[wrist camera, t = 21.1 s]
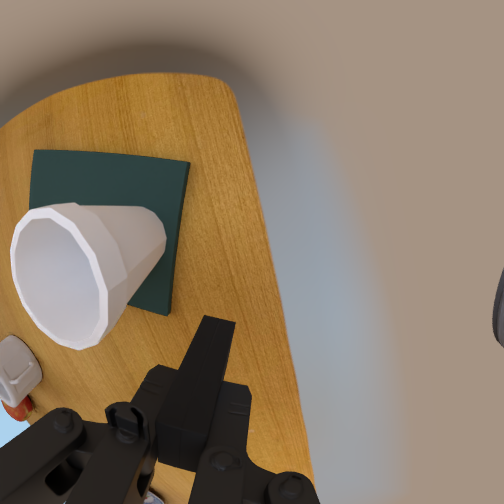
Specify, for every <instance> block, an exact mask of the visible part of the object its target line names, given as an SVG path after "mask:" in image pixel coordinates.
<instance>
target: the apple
mask: <svg viewBox="0 0 504 504" xmlns="http://www.w3.org/2000/svg"><path fill="white" fill-rule="evenodd" d="M1 401H2V400H1ZM2 404H3V406H4V408H5V410H6V412H7V413H8V414H9V415H10V416H11V417H12V418H14V419H15V420H17V421H25V420H27V419H28V418H29V417H30V416H31V413H32V410H33V408H32V403H31V401H30V399H29V397H28V396H26V397H25V398H24V399H23V400H22V401H21V402H20V404H19V405H18V406H17V407H14V408H13V407H10V406H9V405H7V404H6V403H5V402H4V401H2Z"/></svg>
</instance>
